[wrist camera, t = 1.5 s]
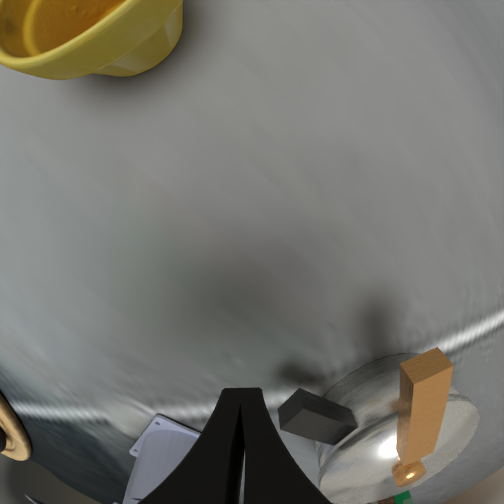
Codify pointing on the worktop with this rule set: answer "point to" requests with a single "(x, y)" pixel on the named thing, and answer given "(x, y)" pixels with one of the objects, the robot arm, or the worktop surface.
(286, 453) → the robot arm
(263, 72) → the worktop surface
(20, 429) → the wooden plate with food
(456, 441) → the lid
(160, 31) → the plant pot
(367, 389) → the cooker pot
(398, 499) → the food container
